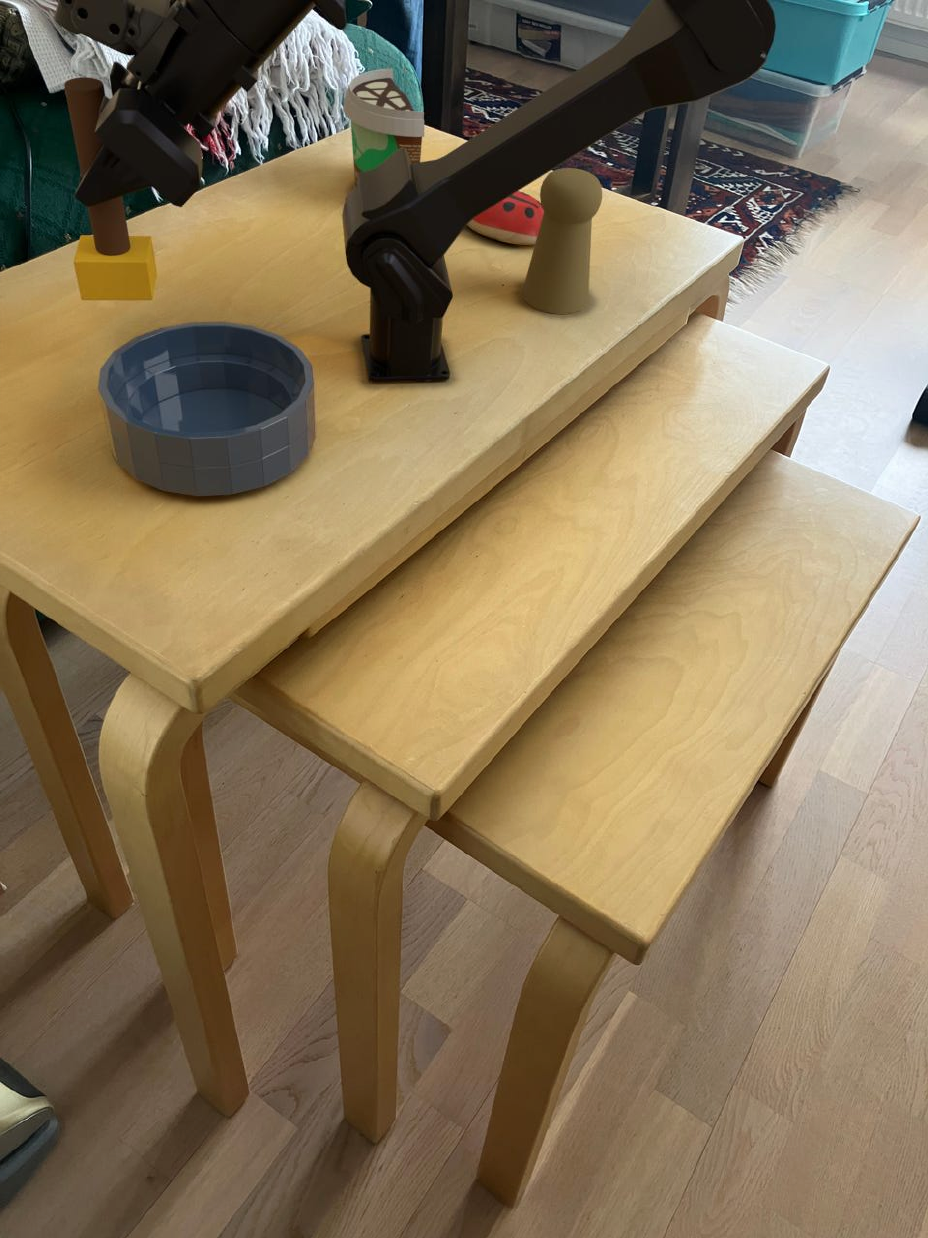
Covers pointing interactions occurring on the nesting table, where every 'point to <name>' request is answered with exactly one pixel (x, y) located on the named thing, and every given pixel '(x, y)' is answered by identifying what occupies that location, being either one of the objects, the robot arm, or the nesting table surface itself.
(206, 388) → the bowl
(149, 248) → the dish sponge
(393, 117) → the food container
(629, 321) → the nesting table surface
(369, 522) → the nesting table surface
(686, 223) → the nesting table surface
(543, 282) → the olive brown pawn
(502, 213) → the ladybug figurine
